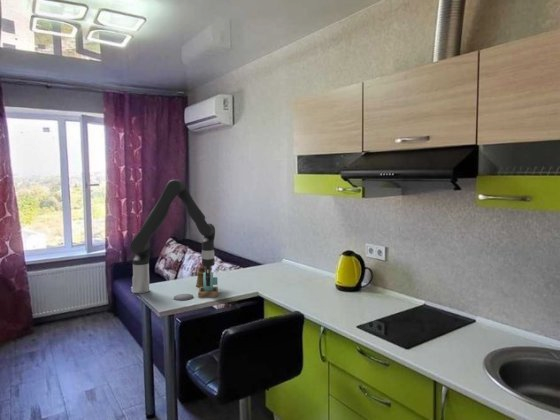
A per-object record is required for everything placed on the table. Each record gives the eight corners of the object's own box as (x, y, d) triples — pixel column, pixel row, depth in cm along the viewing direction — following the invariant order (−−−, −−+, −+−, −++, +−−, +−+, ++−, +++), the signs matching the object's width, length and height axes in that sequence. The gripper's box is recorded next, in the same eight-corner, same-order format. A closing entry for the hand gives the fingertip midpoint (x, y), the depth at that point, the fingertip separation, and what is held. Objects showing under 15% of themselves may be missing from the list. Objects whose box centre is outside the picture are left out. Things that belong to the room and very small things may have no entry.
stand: (198, 297, 227) (198, 292, 226) (199, 291, 238) (199, 287, 237) (217, 296, 228) (217, 291, 228) (217, 291, 239) (217, 286, 239)
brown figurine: (204, 290, 241) (204, 261, 240) (193, 285, 251) (193, 258, 250) (216, 287, 247) (216, 259, 246) (205, 283, 257) (205, 256, 256)
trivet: (172, 300, 220) (172, 299, 220) (175, 295, 231) (175, 294, 231) (192, 300, 221) (192, 299, 221) (194, 294, 232) (194, 293, 232)
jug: (203, 295, 230) (203, 274, 229) (203, 293, 235) (203, 272, 234) (217, 295, 231) (217, 273, 230) (217, 292, 236) (217, 271, 235)
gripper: (202, 255, 238) (203, 281, 239) (200, 260, 224) (201, 287, 225) (214, 254, 239) (215, 280, 240) (214, 259, 224) (214, 287, 226)
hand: (208, 284), depth 232 cm, fingers open, 8 cm apart
